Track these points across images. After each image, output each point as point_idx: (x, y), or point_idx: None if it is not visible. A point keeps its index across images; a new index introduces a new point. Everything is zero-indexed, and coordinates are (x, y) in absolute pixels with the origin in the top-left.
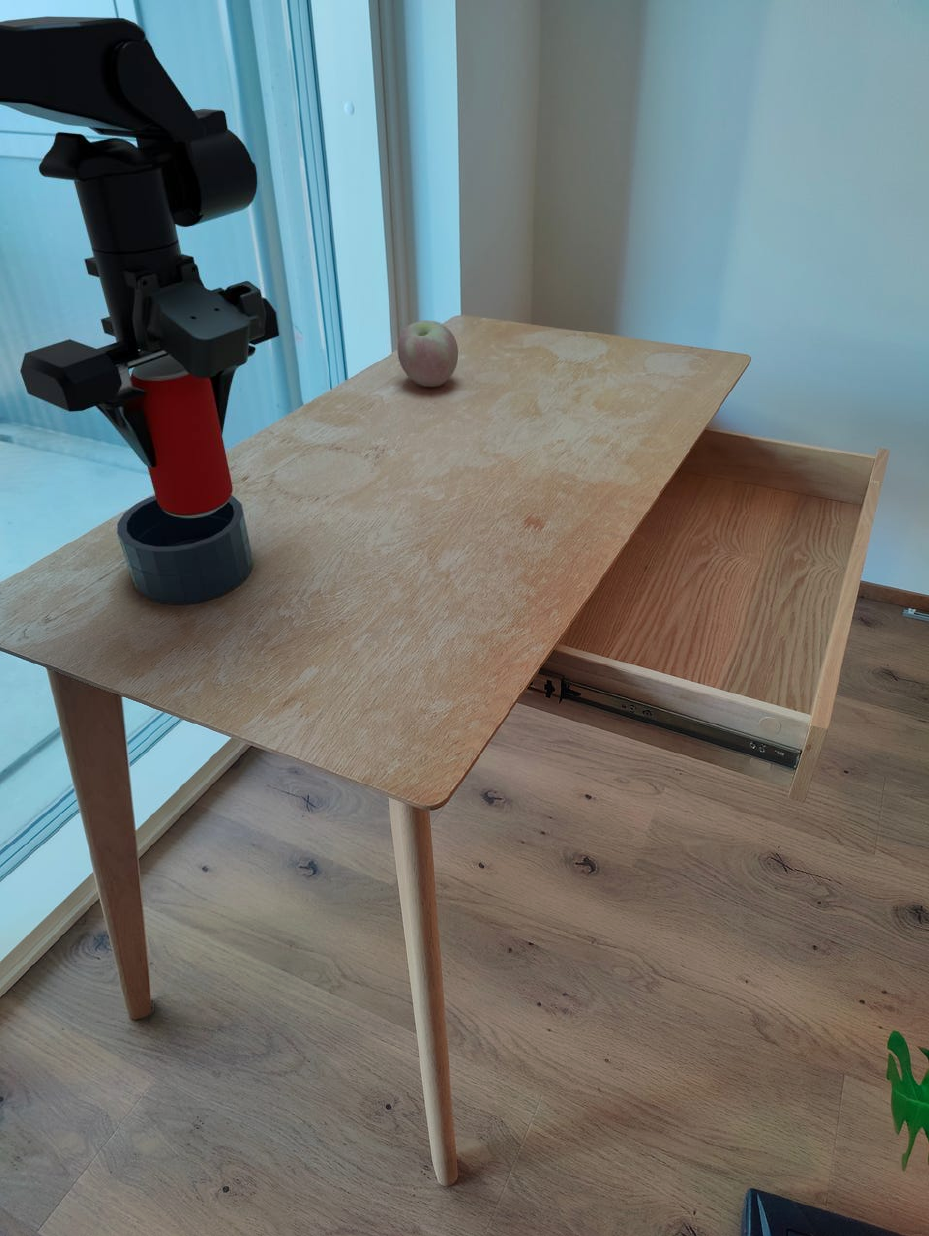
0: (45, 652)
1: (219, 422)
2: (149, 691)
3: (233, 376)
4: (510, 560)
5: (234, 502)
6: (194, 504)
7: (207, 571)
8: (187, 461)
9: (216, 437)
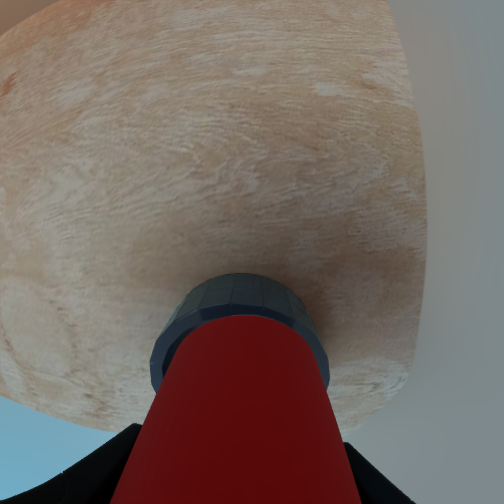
0: (412, 350)
1: (124, 447)
2: (423, 224)
3: (13, 496)
4: (59, 52)
5: (160, 351)
6: (301, 341)
7: (279, 295)
8: (312, 405)
9: (194, 415)
